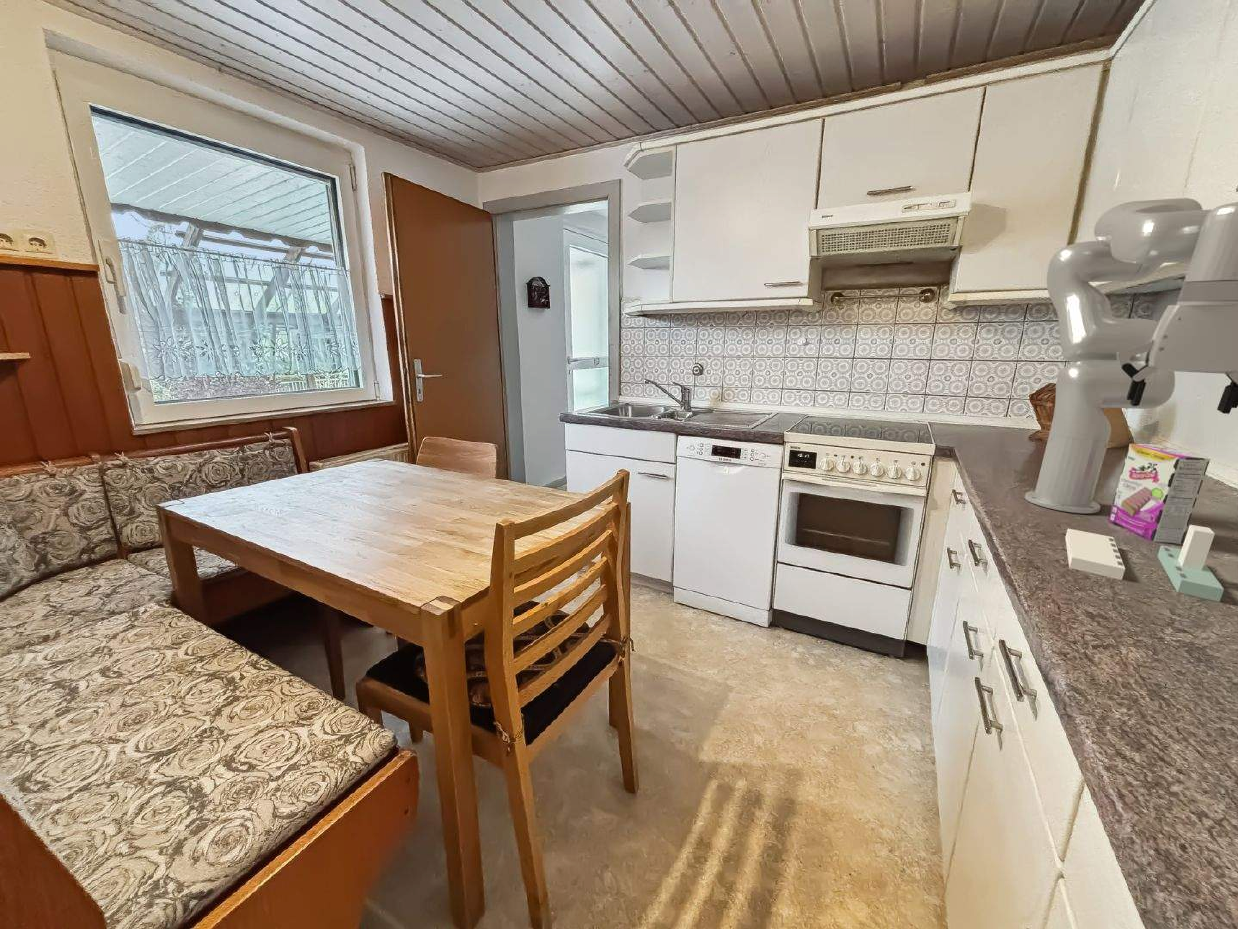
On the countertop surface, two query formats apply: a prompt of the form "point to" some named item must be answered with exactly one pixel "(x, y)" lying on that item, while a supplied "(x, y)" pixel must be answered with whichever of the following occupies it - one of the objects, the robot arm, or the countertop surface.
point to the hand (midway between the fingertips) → (1176, 408)
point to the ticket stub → (1192, 565)
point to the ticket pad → (1094, 554)
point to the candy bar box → (1157, 492)
